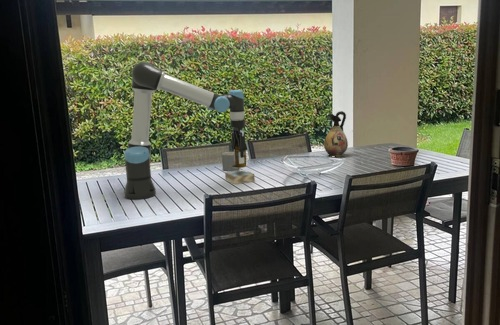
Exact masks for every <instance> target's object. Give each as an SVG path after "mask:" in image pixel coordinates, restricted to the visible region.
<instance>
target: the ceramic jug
mask: <svg viewBox="0 0 500 325" xmlns="http://www.w3.org/2000/svg"><path fill="white" fill-rule="evenodd" d="M340 115H341V116H342V119H341V118H340ZM346 119H347V114H346V112H345V111H342V110H340V111H338V112H336V113H335V114H333V113H330V114H329V116H328V117H327V120H329V121H331V122H333V124H332V127H331V128H330V129H329V131H328V133H327V135H326V136H325V139H324V143H323V147H324V150H325V152H326V153H327V155H328V154H329V155H330V156H336V157H335V158H341V157H343V155H344V154H345V153H346V151H347V150H348V146H349V142H348V139H347V136H346V134H345V132H344V125H345V122H346ZM339 122H341V123H339ZM329 155H328V156H329ZM330 156H329V157H330Z"/></svg>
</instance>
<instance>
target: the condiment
mask: <svg viewBox="0 0 500 325" xmlns="http://www.w3.org/2000/svg"><path fill="white" fill-rule="evenodd" d="M238 151H239V145H238V144H236V145H235V165H233V166H230V167H233V168H236V169H237V168H239V169H242V168H249V167H250V166H249V165H247V150H246V151H244V163H242V164H239V152H238Z"/></svg>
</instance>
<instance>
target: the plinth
mask: <svg viewBox="0 0 500 325" xmlns="http://www.w3.org/2000/svg"><path fill="white" fill-rule="evenodd" d="M224 172H225V174H224V175H225V177H224V179H225V181H227V182H229V183H231V184H232V185H238V184H245V183H252V182H253V183H254V182H255V173H253V172H250V171H249V170H246V169H242V170H240V169H239V170H237V171H230V172H228V171H224Z"/></svg>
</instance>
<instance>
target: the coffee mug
mask: <svg viewBox="0 0 500 325" xmlns="http://www.w3.org/2000/svg"><path fill="white" fill-rule="evenodd" d="M221 160H222V161H221V165H222V171H223V172H233V171H240V168H237V169H236V168H233V167H230V166H233V165H235V161H234V151H225V152H222V154H221Z"/></svg>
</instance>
